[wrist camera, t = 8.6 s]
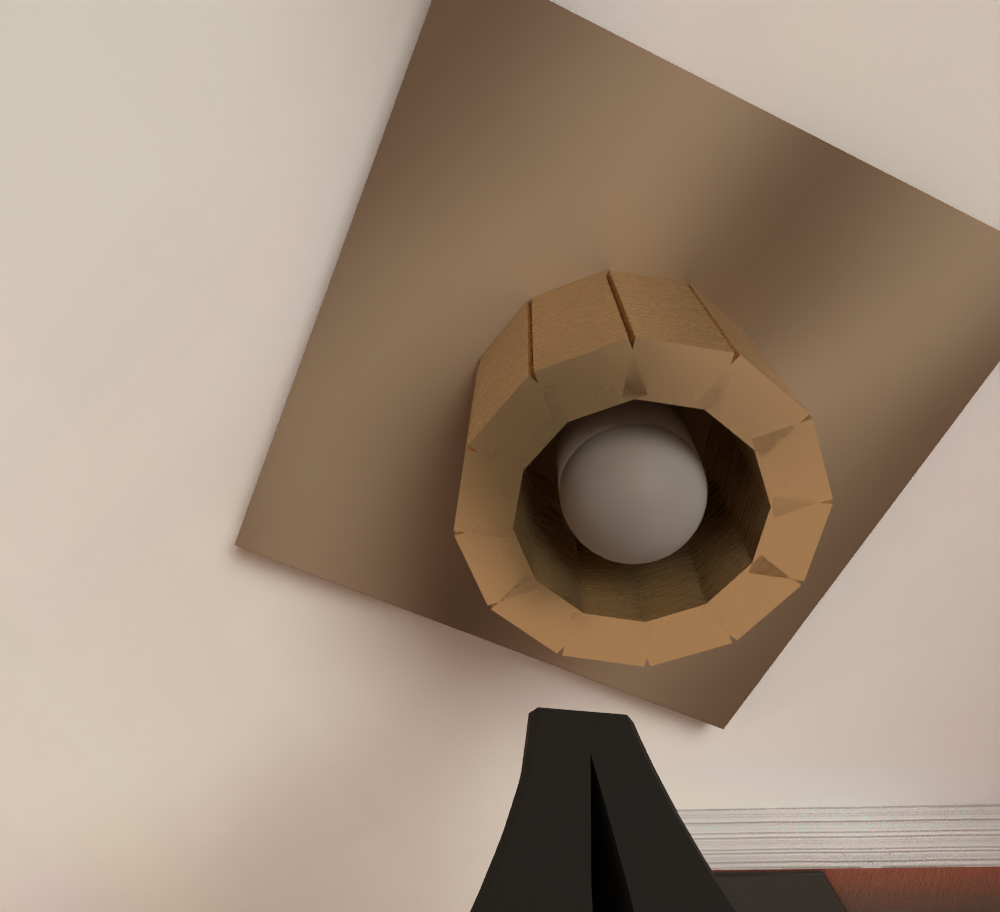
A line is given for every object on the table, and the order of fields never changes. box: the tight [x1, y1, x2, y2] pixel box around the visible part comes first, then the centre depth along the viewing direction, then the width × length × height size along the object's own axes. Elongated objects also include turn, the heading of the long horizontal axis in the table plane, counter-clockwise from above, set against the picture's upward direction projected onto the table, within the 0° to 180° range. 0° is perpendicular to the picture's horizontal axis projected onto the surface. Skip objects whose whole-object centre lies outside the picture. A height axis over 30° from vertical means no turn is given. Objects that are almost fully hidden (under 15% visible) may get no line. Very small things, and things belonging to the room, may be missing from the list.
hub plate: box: [235, 0, 1000, 729], centre depth 15 cm, size 12×12×5 cm
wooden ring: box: [454, 270, 833, 667], centre depth 15 cm, size 6×6×4 cm
